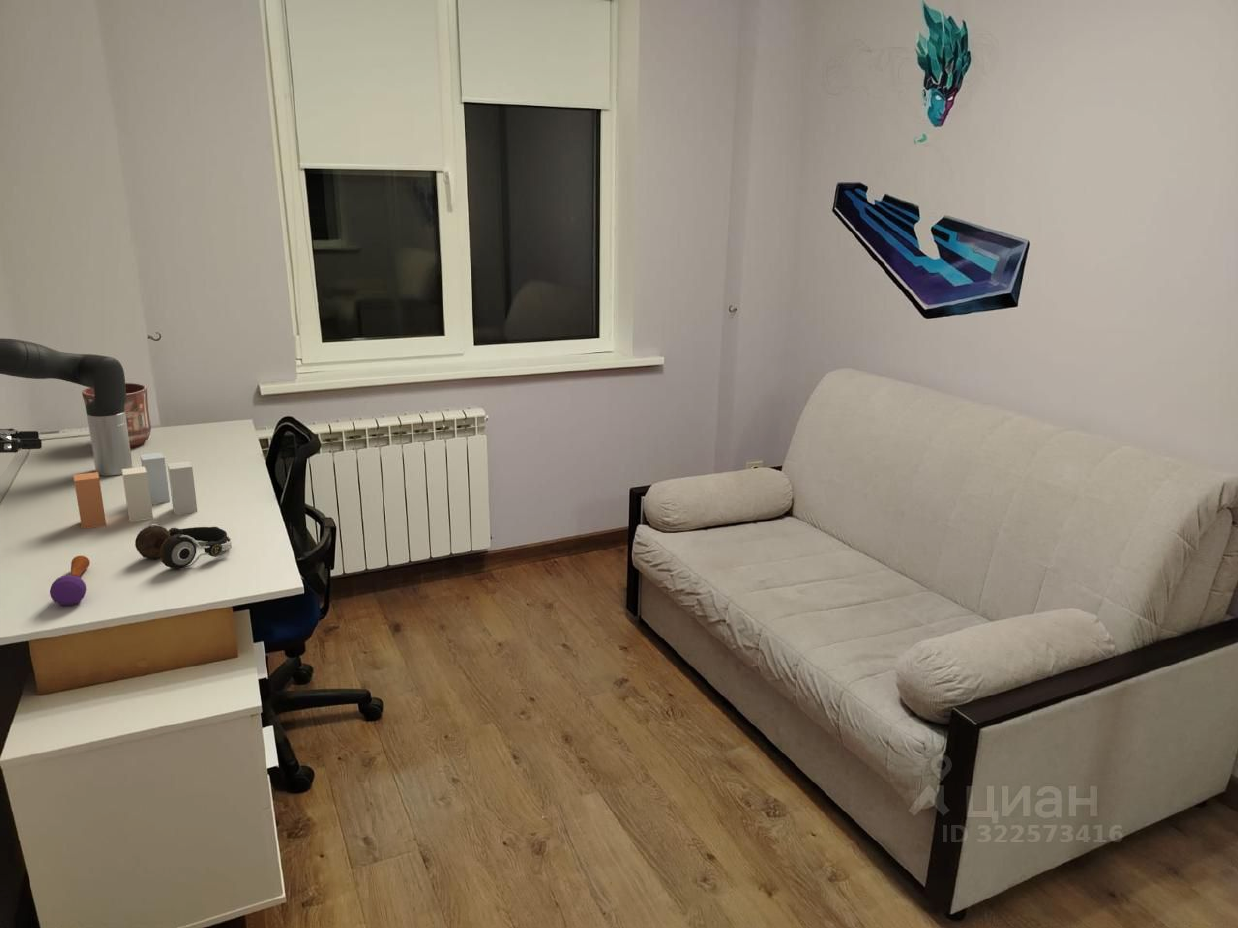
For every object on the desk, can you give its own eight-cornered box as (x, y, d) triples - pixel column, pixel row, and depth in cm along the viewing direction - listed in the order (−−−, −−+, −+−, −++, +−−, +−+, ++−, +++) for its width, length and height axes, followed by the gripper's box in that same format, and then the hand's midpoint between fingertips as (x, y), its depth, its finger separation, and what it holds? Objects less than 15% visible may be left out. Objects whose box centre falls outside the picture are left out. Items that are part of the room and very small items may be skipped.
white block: (146, 498, 224) (140, 454, 220) (167, 495, 226) (162, 452, 223) (148, 504, 220) (142, 460, 216) (170, 501, 222) (164, 457, 219)
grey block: (173, 508, 217) (167, 463, 214) (194, 505, 220) (189, 461, 216) (175, 514, 213) (169, 469, 210) (197, 511, 216) (192, 466, 212)
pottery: (76, 447, 263) (67, 390, 258) (127, 434, 279) (120, 380, 273) (117, 456, 257) (109, 398, 251) (167, 442, 272) (160, 387, 267)
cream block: (128, 515, 212) (121, 469, 209) (150, 511, 215) (144, 466, 211) (129, 521, 208) (123, 475, 205) (153, 518, 211) (146, 472, 207)
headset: (125, 523, 186) (208, 510, 203) (124, 557, 188) (207, 541, 205) (172, 541, 178) (255, 526, 195) (171, 576, 179) (254, 558, 197)
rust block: (81, 521, 207) (73, 474, 203) (105, 518, 210) (97, 472, 206) (82, 528, 203) (74, 480, 199) (106, 525, 206) (99, 477, 202)
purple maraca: (97, 550, 182) (85, 581, 165) (95, 576, 183) (83, 610, 166) (65, 548, 180) (48, 580, 162) (63, 575, 181) (46, 610, 163)
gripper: (-51, 431, 179) (42, 429, 188) (-51, 418, 189) (37, 417, 199) (-50, 465, 180) (43, 462, 190) (-50, 451, 191) (38, 449, 201)
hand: (40, 439), depth 195 cm, fingers open, 8 cm apart
